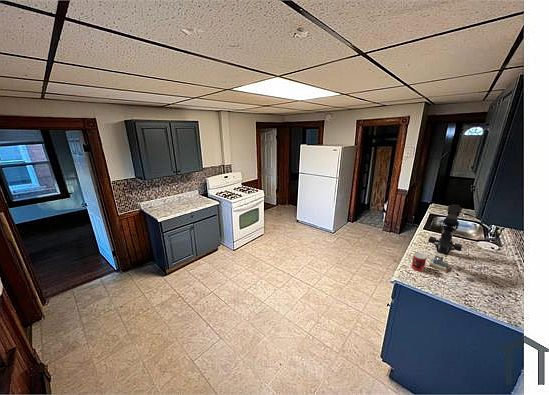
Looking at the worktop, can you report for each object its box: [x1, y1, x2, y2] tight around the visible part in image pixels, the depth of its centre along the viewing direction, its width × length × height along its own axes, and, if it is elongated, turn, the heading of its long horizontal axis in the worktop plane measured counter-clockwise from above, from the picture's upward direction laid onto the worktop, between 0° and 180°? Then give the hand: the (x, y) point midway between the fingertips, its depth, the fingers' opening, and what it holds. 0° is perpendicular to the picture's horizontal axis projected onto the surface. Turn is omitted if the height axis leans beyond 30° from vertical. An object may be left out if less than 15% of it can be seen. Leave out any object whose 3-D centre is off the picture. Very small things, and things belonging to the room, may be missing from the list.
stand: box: [428, 257, 449, 273], centre depth 161 cm, size 10×10×2 cm
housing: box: [433, 254, 444, 266], centre depth 160 cm, size 7×5×4 cm
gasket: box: [465, 276, 475, 283], centre depth 147 cm, size 4×4×1 cm
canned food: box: [411, 251, 428, 272], centre depth 157 cm, size 8×8×11 cm
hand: (441, 253), depth 158 cm, fingers open, 5 cm apart
